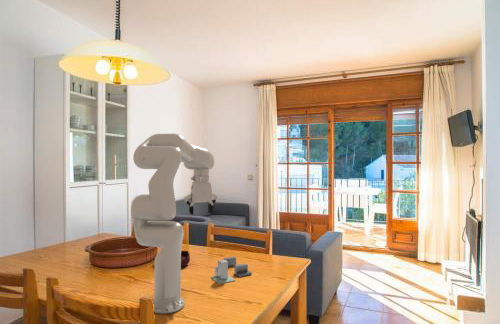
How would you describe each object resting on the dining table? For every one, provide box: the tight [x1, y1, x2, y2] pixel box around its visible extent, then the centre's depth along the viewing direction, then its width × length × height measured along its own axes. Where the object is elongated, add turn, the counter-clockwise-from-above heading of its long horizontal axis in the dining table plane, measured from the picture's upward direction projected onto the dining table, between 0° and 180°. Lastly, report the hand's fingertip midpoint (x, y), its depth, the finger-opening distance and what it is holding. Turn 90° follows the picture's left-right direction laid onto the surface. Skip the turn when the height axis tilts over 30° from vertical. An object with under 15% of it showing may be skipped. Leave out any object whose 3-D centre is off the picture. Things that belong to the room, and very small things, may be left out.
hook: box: [214, 259, 229, 280], centre depth 141 cm, size 8×4×8 cm, turn 29°
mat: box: [210, 274, 236, 285], centre depth 140 cm, size 9×8×1 cm
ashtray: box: [181, 250, 191, 268], centre depth 162 cm, size 18×16×5 cm
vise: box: [223, 256, 253, 278], centre depth 153 cm, size 21×7×4 cm, turn 29°
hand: (200, 213), depth 151 cm, fingers open, 9 cm apart
